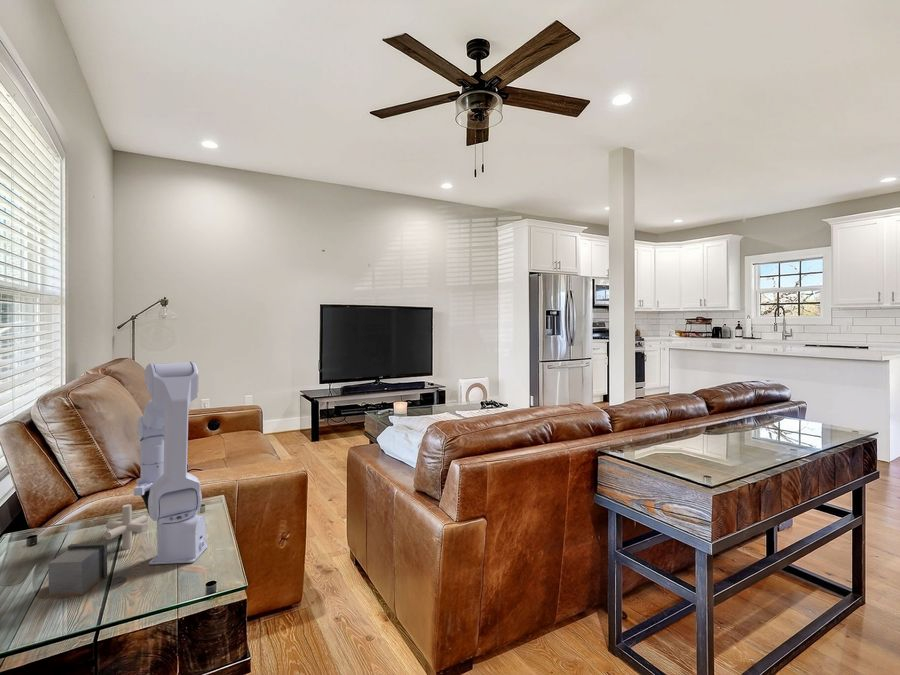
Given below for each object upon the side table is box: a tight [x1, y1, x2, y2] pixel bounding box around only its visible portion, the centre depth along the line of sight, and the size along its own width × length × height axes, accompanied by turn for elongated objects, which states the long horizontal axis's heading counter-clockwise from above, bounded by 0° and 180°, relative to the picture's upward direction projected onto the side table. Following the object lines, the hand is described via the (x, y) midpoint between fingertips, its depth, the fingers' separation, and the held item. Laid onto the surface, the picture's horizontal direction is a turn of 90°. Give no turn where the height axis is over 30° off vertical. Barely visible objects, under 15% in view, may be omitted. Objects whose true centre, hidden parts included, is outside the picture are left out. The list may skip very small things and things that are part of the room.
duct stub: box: [47, 542, 108, 598], centre depth 95 cm, size 7×7×7 cm
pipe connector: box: [104, 504, 149, 550], centre depth 112 cm, size 10×10×10 cm
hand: (154, 513), depth 124 cm, fingers closed
